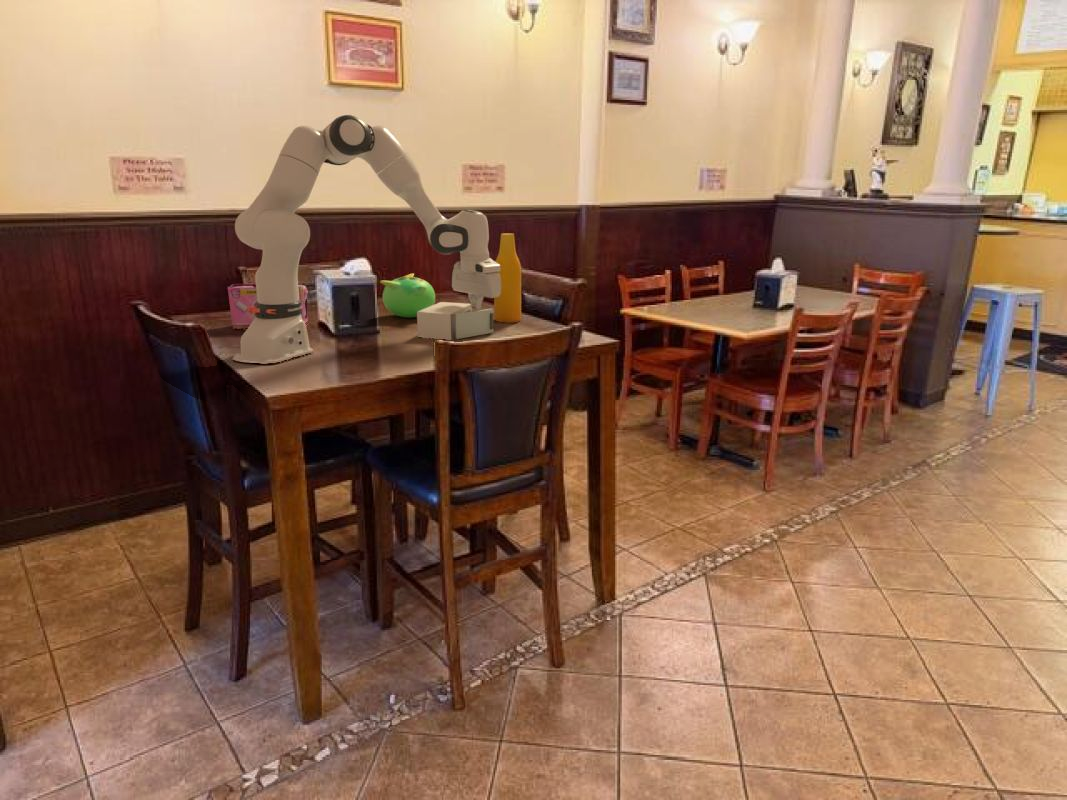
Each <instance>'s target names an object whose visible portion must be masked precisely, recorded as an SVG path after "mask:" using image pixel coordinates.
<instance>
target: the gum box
mask: <svg viewBox="0 0 1067 800" xmlns="http://www.w3.org/2000/svg"><path fill="white" fill-rule="evenodd" d="M298 290H299V300H300V301H301V305H302V313H301V317H302V319H303V321H304V322H305V323H306V322H307V321H308V322H309V320H308V319H309V318H308V294H309V291H308V288H307V283H303V282H302V283H301V282H298ZM227 292H228V293H227V294H228V300H229V301H228V302H229V307H230V316H231V317H230V319H231V326H232V325H250V324H251V323H252V322H253V320H254V319H255V316H254V315H255V314H249V313H248V312H249V311H248V309H249V308H248V307H250V306H251V307H256V303H257V302H258V300H257V291H256V283H233V284H231V285H230V286H227Z"/></svg>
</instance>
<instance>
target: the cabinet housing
mask: <svg viewBox="0 0 1067 800" xmlns="http://www.w3.org/2000/svg"><path fill="white" fill-rule="evenodd" d="M473 309H474V308H471V303H463V302H448V301H440V302H437V303H434V305H432V306H430V307H427V308H425V309H423V310H420V311H418V312H417V317H416V320H417V321H416V323H417V338H418V337H422V338H421V339H429V338H431V340H432V338H434V339H433V340H435V339H436V340H442V339H446V340H445V341H452V340H453V339H452V314H459V313H465V312H472V311H474V310H473Z"/></svg>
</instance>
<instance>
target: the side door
mask: <svg viewBox="0 0 1067 800" xmlns="http://www.w3.org/2000/svg"><path fill="white" fill-rule="evenodd" d="M494 321H495V320H494V308H486V309H477V310H473V311H472V312H465V313H459V314H452V340H454V341H455V340H459V339H465V338H470V337H476V336H481V335H482V336H483V335H487V334H493V333H494V324H495V323H494Z"/></svg>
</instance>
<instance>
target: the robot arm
mask: <svg viewBox="0 0 1067 800" xmlns="http://www.w3.org/2000/svg"><path fill="white" fill-rule="evenodd" d="M357 158H358V159H359V158H360V159H362V160H363V161H365V163H367V164H368V165H370V167H371V169H372V170H373V172H374V173H375V175H376V176H377V177H378V179H379V180H380V181H381V182H382V183H383V184H384V186H385V187H386V188H387V189H388V190H390V192H391V193H393V194H394V195H396V196H397V197H399V198H401V199H402V200H404V201H405V202H406V204H408V206H409V207H410V208H411V209H412V211H413V213H414V214H415V215H416V216H417V218H418V219H419V220H420V222H421V223H422V225H423V227H424V229H425V232H426V236H427V237H426V238H427V241H428V243H429V245H430V246H431V247H432V249H434V251H435V252H437V253H439V254H442V255H450V254H451V255H452V254H454V253H455V254H456V253H460V254H459V255H460V256H459V258H460V261H459V260H458V261H456V262H455V264H454V265H453V270H452V274H451V275H452V276H451V288H452V290H453V291H455V292H460V293H465V294H467V298H468V300H469V302H470V304H471V308H473V309H474V310H482V302H483V300H484V298H488V299H489V298H490V299H494V298H495V297H499V296H500V294H501V278H500V274H499V273H498V272H499V271H500V269H501V268H500V265H499V264H498V263H496V262H495V261H496V260H493V259H492V258H491V257H490V252H489V240H490V234H489V233H490V232H489V223H488V218H487V215H485V214H484V213H483V212H481V211H478V210H474V209H462V210H461V211H460V212H458V213H457V214H456V215H454V216H452V217H450V218H447V217H446V216H444V215H442V213H441V212H440V211H439V210H438V208H437V207H436V205H435V204H434V203H433V202H432V200H431V199H430V197H429V196H428V194H427V193H426V191H425V189H424V187H423V184H422V180H421V176H420V172H419V170H418V168H417V166H416V164H415V162H414V161H413V159H412V157H411V156H410V153H409V152H408V151H407V150H406V148H405V147H404V146H403V145H402V143H401V142H400V141H399V140H398V139H397V137H395V135H394V134H393V133H392V132H390V130H389V129H388V128H387V127H385V126H383V125H375V126H371V125H369V124H367V123H366V122H364V121H363V120H362V119H360V118H358V117H357V116H355V115H352V114H345V115H340V116H338V117H336V118H334V120H333V121H332V122H330V123H329V124H328V125H326V127H325V128H323V129H322V130H318V129H315V128H313V127H310V126H307V125H300V126H297V127H296V128H294V129H293V130H292V132H291V133H290V134H289V136H288V138H287V139H286V141H285V142H284V144H283V146H282V148H281V149H280V153H279V154H278V157H277V159H276V162H275V164H274V166H273V168H272V171H271V174H270V175H269V178H268V180H267V181H266V184H265V185H264V186H263V188H262V190H261V191H260V192H259V194H258V195H256V198H255V199H254V201H253V202H252V203H251V204H250V205H249V206H248V208H246V209H245V210H244V211H242V212H241V213H240V214H239V215H238V216H237V218H236V219H235V223H234V231H235V234H236V236H237V238H238V240H239V241H240V242H242V243H244V244H245V245H247V246H249V247H250V248H253V249H256V250H262V257H261V261H260V262H261V263H260V266H259V267H258V269H257V270H256V272H255V274H254V278H255V280H254V281H255V284H256V291H257V300H258V302H257V303H256V307H251V306H250V307H248V308H249V309H248V311H249V312H248V313H249V314H255V315H254V316H255V319H254V320H253V322H252V323H251V324H250V326H249V327H248V329H245V331H244V332H243V334H242V335H241V338H240V352H241V354H239V357H243V358H239V359H241V360H249V361H257V362H275V361H279V360H283V359H286V358H290V357H293V356H296V355H300V354H304V353H308V352H312V351H313V352H314V350H313V348H312V347H310V346H311V345H310V340H309V335H308V329H307V325H306V324H305V322H304V321H303V319H302V317H301V313H302V305H301V301H300V300H299V290H298V283H299V280H298V279H299V276H298V275H299V274H298V273H299V265H300V259H301V256H302V253H303V250H304V249H305V248H306V247H307V245H308V244H309V241H310V237H311V227H310V225H309V224H308V222H307V220H306V219H304V218H303V217H302V216H301V215H299V214H297V213H295V212H296V211H297V210H298V209H299V208H301V207H302V206H304V204H305V203H307V201H308V200H309V197H310V195H311V193H312V190H313V189H314V186H315V183H316V181H317V178H318V176H319V173H320V171H321V168H322V166H323V164H325V163H326V164H329V165H332V166H333V165H335V166H343V165H346V164H349V163H350V162H351V161H353V160H355V159H357Z"/></svg>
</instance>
